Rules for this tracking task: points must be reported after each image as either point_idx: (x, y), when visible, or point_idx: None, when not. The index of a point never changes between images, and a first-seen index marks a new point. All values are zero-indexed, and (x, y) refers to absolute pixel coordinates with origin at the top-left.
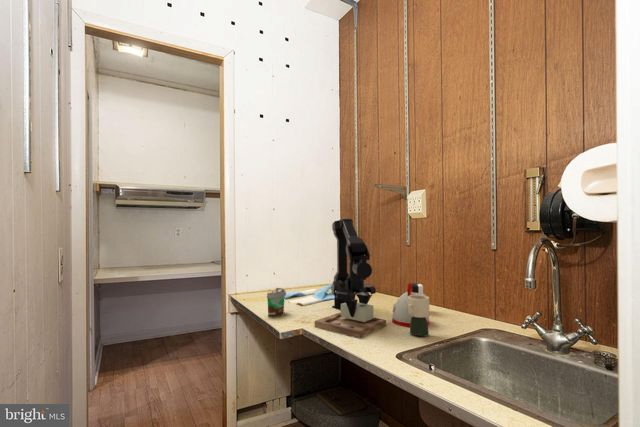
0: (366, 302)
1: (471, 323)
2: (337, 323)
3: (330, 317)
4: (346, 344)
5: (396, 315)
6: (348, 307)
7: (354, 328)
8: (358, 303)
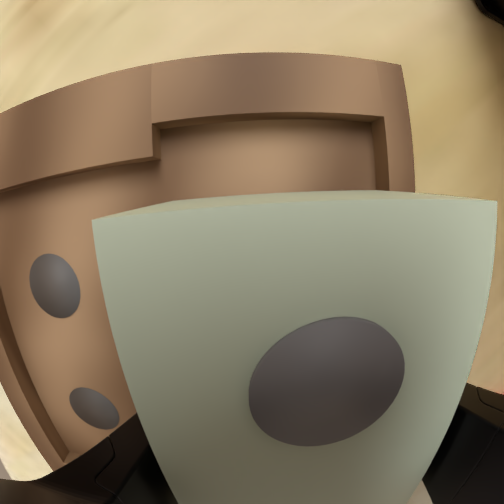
0: (432, 500)
1: None
2: (58, 279)
3: (73, 133)
4: (6, 441)
5: (417, 500)
6: (103, 453)
7: (99, 436)
8: (410, 447)
